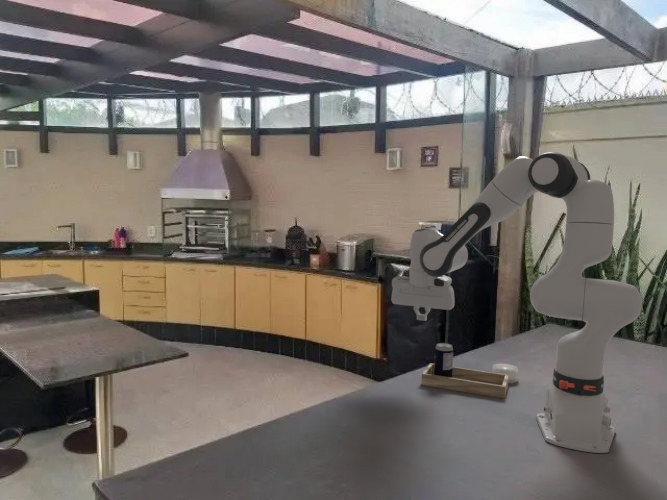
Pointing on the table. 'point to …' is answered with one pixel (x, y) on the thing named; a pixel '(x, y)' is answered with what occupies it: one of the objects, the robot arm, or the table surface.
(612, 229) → the robot arm
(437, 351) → the beverage can
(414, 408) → the table surface
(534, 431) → the table surface
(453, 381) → the wooden tray
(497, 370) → the soap bar
